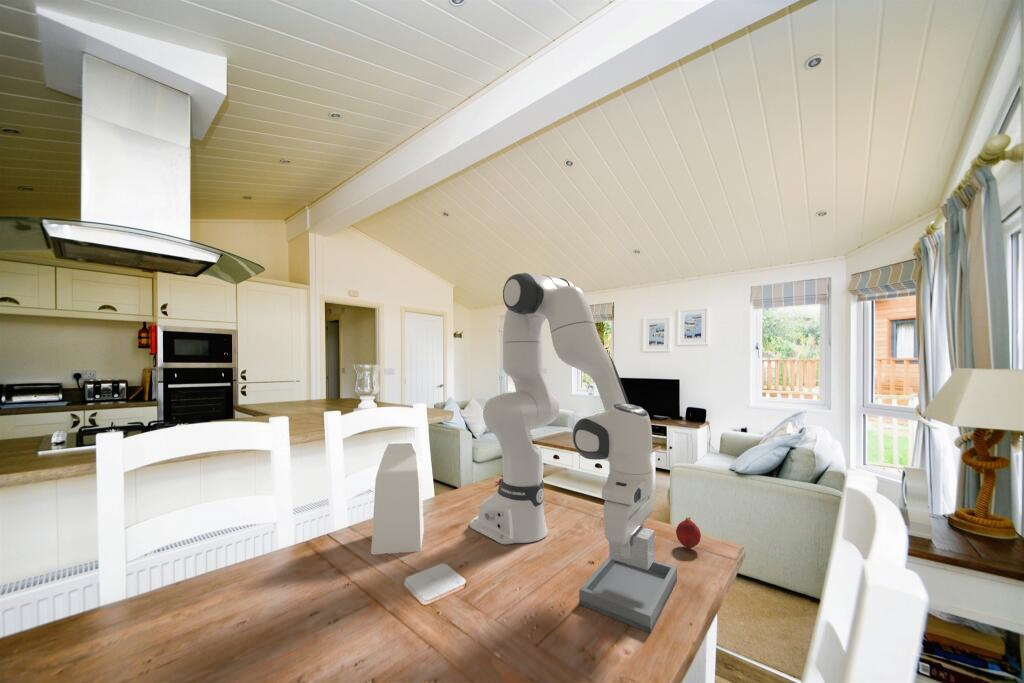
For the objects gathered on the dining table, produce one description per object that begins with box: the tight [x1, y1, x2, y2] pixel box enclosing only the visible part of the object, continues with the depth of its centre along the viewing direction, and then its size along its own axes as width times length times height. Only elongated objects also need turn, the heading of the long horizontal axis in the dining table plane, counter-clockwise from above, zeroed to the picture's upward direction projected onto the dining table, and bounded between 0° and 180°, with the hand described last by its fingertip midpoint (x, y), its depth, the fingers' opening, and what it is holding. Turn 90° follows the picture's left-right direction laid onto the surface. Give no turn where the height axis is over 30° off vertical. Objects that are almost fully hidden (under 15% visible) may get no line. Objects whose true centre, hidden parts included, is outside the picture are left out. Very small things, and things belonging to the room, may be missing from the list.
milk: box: [370, 441, 425, 555], centre depth 105 cm, size 12×12×26 cm
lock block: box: [608, 527, 656, 570], centre depth 84 cm, size 8×5×6 cm, turn 55°
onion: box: [675, 516, 702, 550], centre depth 102 cm, size 6×6×8 cm
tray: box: [578, 556, 678, 634], centre depth 84 cm, size 14×20×3 cm
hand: (631, 548), depth 84 cm, fingers closed on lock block, 5 cm apart
